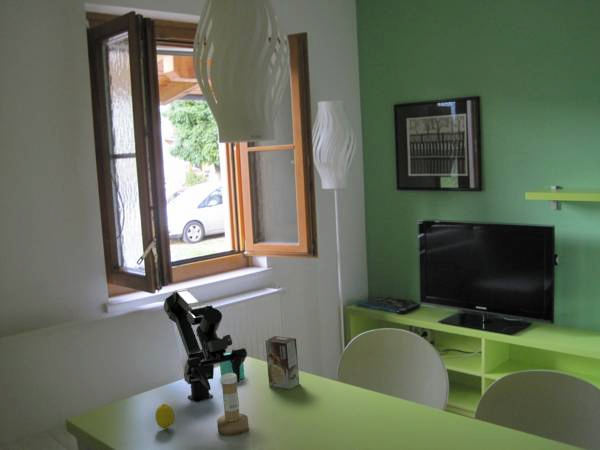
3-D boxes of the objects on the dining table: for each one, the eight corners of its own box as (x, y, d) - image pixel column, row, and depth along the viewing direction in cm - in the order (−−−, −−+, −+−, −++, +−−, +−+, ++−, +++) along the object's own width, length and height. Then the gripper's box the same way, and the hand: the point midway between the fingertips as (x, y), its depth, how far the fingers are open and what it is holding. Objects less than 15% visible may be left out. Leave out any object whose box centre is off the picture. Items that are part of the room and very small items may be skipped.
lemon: (171, 433, 197) (169, 407, 196) (153, 433, 198) (151, 407, 197) (178, 425, 202) (176, 400, 201) (161, 425, 203) (158, 399, 202)
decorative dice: (244, 379, 237) (243, 358, 236) (222, 382, 236) (220, 360, 235) (242, 372, 245) (240, 351, 244) (220, 375, 244) (218, 354, 243)
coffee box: (300, 383, 230) (297, 338, 228) (290, 389, 225) (287, 343, 223) (278, 379, 235) (274, 335, 233) (267, 386, 230) (264, 340, 228)
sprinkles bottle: (240, 415, 199) (236, 371, 197) (240, 421, 195) (236, 377, 193) (224, 417, 199) (220, 373, 197) (224, 423, 194) (220, 378, 193)
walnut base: (212, 429, 198) (211, 419, 197) (237, 420, 203) (236, 410, 203) (228, 438, 191) (227, 428, 190) (254, 428, 196) (253, 419, 196)
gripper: (184, 333, 198) (199, 380, 190) (242, 321, 206) (259, 366, 198) (178, 351, 206) (192, 397, 198) (235, 340, 214) (251, 383, 206)
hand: (224, 385), depth 200 cm, fingers open, 9 cm apart
